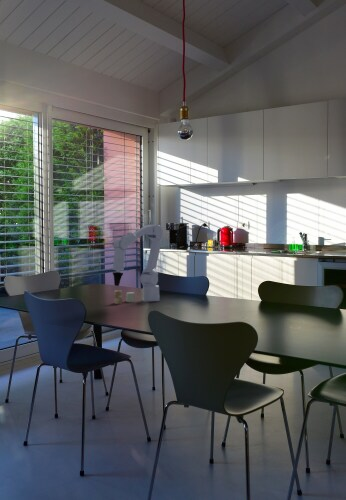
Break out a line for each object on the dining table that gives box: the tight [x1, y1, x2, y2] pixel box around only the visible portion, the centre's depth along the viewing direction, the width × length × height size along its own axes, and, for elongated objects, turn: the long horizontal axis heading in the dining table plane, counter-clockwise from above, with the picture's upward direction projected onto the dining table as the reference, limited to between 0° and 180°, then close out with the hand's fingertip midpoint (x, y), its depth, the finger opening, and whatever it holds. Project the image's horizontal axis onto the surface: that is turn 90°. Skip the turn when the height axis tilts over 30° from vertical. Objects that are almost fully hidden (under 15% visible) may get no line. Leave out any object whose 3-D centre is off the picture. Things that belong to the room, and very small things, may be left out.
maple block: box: [114, 289, 123, 305], centre depth 292 cm, size 4×4×7 cm
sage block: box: [125, 291, 136, 303], centre depth 298 cm, size 4×4×5 cm
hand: (116, 285), depth 283 cm, fingers open, 7 cm apart
